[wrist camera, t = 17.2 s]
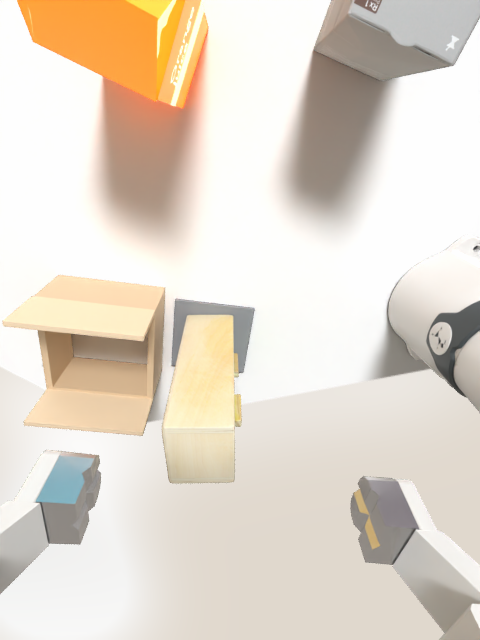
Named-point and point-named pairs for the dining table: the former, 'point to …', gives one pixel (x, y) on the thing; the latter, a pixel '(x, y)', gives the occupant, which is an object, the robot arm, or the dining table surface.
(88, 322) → the carton
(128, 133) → the dining table surface
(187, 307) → the mat
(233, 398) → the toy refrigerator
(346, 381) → the dining table surface
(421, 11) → the skincare box
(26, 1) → the orange juice
